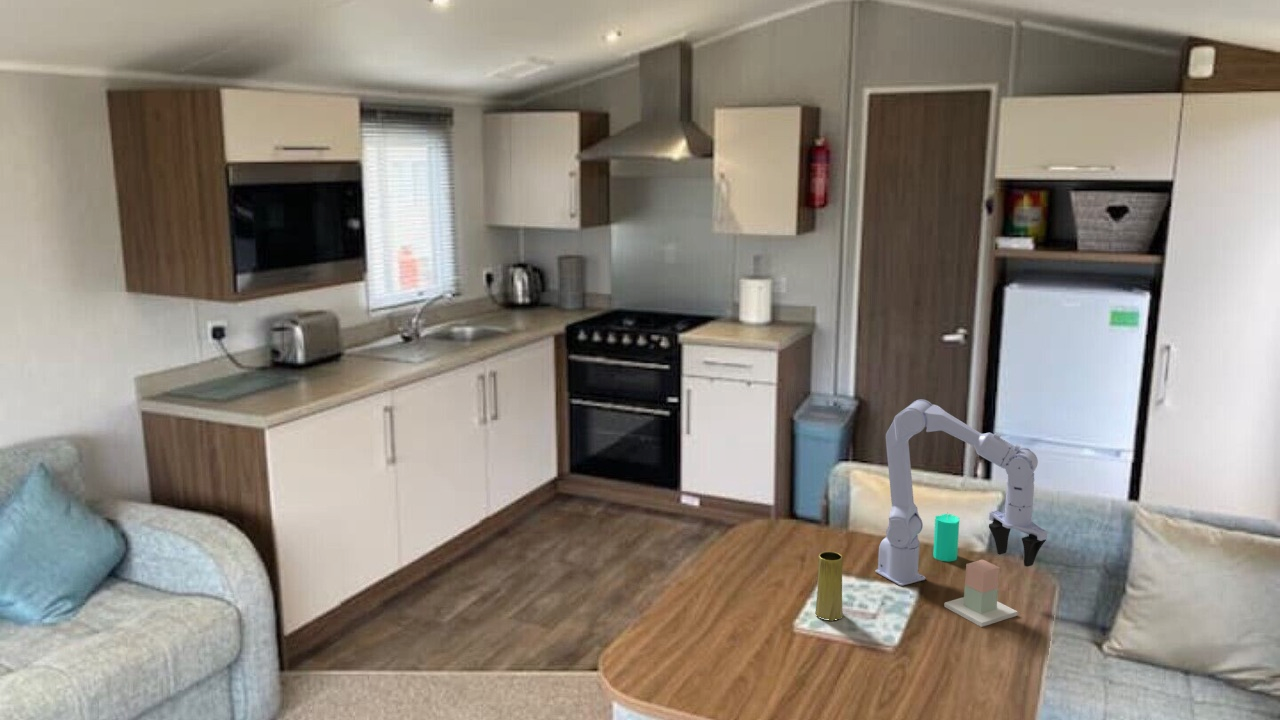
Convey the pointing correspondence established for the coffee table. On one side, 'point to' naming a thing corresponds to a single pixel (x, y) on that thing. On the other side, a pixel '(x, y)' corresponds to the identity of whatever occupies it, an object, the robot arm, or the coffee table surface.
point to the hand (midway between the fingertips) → (1015, 559)
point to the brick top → (982, 576)
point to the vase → (829, 586)
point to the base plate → (981, 619)
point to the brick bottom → (980, 600)
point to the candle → (946, 537)
